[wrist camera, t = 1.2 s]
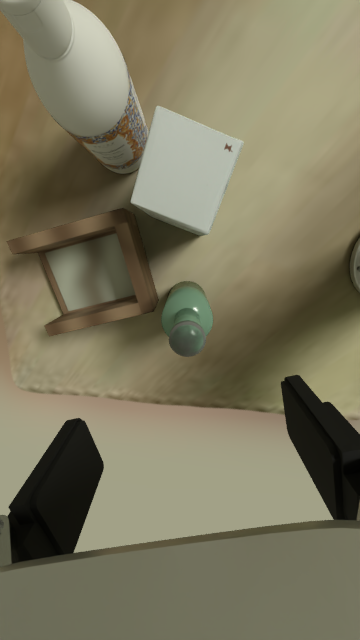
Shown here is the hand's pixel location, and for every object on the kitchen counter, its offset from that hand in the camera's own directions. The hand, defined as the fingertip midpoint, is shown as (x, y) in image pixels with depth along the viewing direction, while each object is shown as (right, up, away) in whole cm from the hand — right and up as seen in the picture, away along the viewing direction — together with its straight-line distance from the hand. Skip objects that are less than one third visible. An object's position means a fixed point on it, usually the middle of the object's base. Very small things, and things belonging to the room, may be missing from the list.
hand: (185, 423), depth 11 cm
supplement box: (0, +20, +20) cm, 29 cm away
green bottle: (+1, +8, +24) cm, 25 cm away
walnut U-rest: (-12, +12, +23) cm, 28 cm away
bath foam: (-7, +26, +18) cm, 33 cm away
